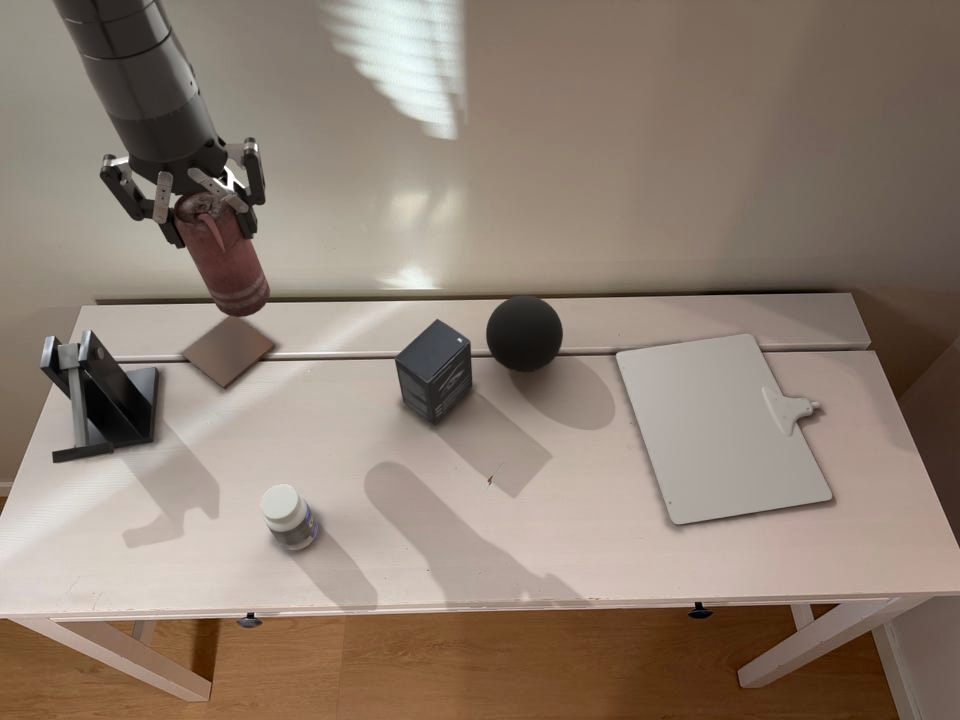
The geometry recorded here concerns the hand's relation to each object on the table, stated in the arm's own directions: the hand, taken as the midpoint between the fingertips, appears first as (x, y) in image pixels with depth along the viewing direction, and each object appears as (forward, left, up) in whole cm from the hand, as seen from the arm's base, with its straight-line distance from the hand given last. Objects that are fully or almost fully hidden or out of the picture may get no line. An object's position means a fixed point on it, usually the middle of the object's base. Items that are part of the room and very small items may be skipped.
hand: (216, 237), depth 68 cm
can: (0, 0, -10) cm, 10 cm away
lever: (-19, +9, -17) cm, 27 cm away
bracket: (-16, +12, -26) cm, 33 cm away
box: (+11, -19, -26) cm, 34 cm away
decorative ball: (+23, -24, -26) cm, 42 cm away
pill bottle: (-13, -18, -26) cm, 34 cm away
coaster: (-1, +9, -26) cm, 27 cm away
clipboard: (+31, -50, -26) cm, 64 cm away
